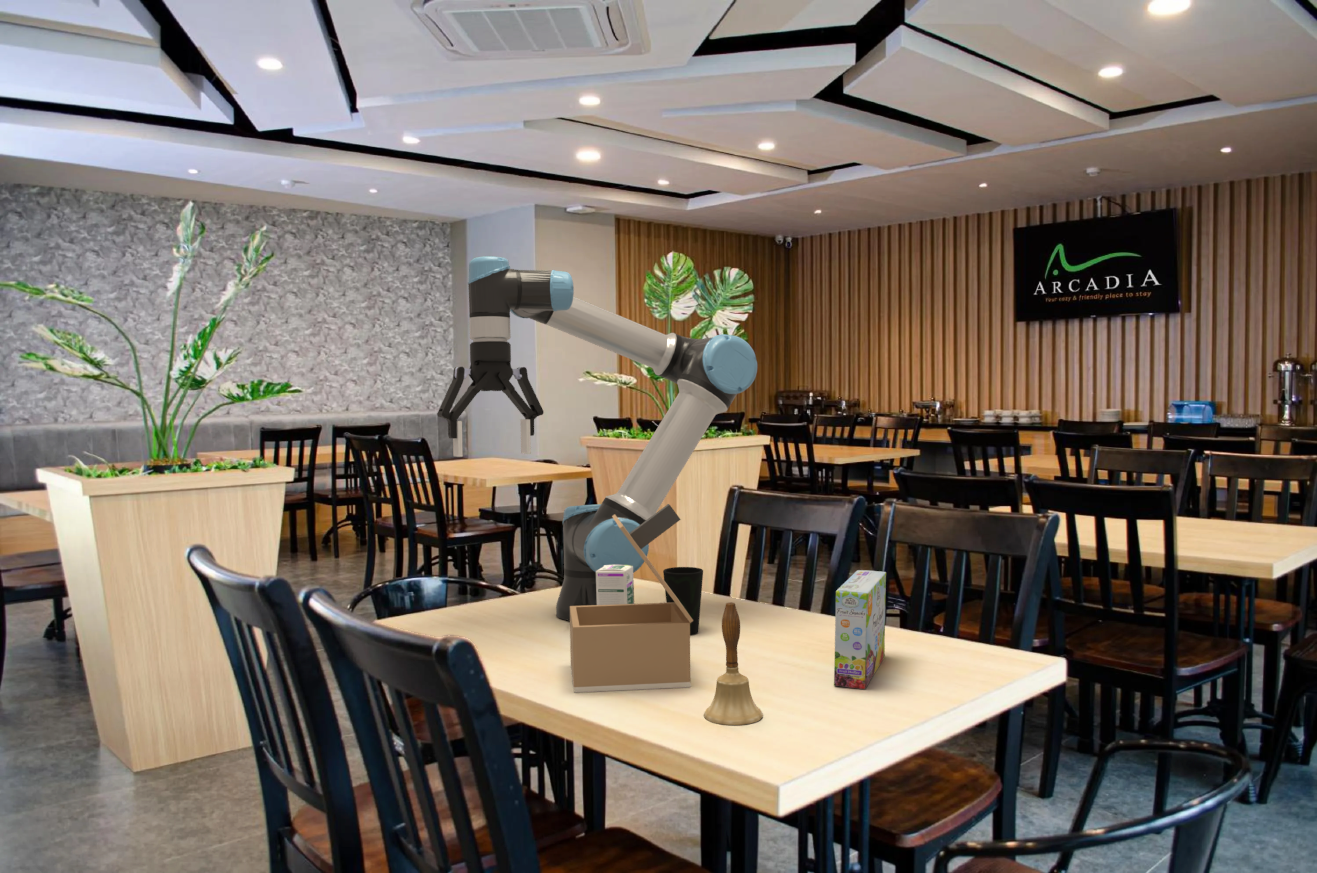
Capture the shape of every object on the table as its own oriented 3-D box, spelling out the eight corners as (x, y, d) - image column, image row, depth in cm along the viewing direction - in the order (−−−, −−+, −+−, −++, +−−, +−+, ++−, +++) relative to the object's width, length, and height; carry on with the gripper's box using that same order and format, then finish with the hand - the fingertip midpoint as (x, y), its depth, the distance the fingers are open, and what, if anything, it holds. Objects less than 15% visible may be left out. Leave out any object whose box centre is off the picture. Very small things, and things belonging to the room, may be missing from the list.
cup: (697, 638, 184) (696, 574, 183) (658, 635, 186) (657, 572, 186) (708, 629, 191) (707, 567, 191) (671, 626, 193) (670, 566, 193)
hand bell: (705, 726, 134) (704, 609, 133) (702, 707, 142) (701, 597, 142) (766, 725, 134) (765, 609, 133) (759, 706, 142) (758, 597, 142)
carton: (573, 692, 150) (572, 627, 150) (570, 664, 166) (569, 606, 165) (690, 687, 152) (689, 622, 152) (676, 660, 168) (675, 602, 168)
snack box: (869, 691, 149) (869, 592, 149) (832, 687, 151) (832, 590, 151) (887, 656, 169) (887, 569, 169) (854, 654, 171) (854, 568, 171)
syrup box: (628, 650, 175) (627, 569, 175) (596, 649, 176) (595, 569, 176) (635, 643, 181) (634, 564, 180) (604, 641, 182) (603, 563, 181)
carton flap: (619, 528, 150) (664, 494, 150) (611, 516, 166) (652, 485, 167) (690, 623, 152) (734, 589, 152) (675, 601, 168) (715, 571, 168)
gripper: (542, 343, 193) (544, 451, 194) (418, 341, 180) (421, 456, 180) (559, 341, 187) (561, 452, 187) (432, 338, 173) (435, 458, 174)
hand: (492, 455), depth 184 cm, fingers open, 13 cm apart
